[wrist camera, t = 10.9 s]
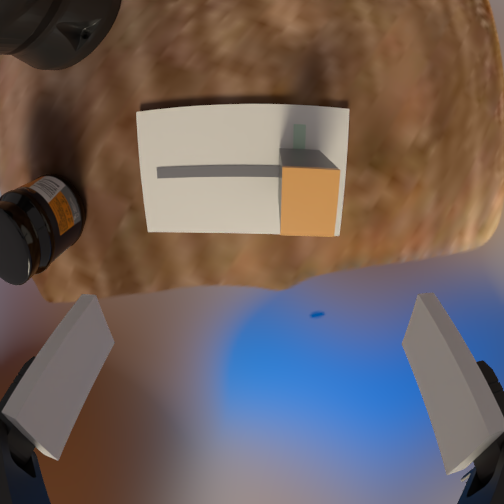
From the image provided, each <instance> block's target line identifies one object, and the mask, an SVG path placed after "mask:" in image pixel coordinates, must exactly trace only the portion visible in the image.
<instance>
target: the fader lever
mask: <svg viewBox="0 0 504 504" xmlns="http://www.w3.org/2000/svg"><path fill="white" fill-rule="evenodd" d="M339 182H340V169H339V168H338V167H337V166H335V165H334V164H333V163H332V162H331V161H330V160H329V159H328V158H327V157H326V156H325V155H324V154H323V153H322V152H321V151H320V150H309V149H285V148H279V179H278V203H279V220H280V235H291V236H324V237H334V233H335V224H336V215H337V205H338V194H339Z"/></svg>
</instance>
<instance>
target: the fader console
mask: <svg viewBox="0 0 504 504" xmlns="http://www.w3.org/2000/svg"><path fill="white" fill-rule="evenodd" d="M136 117H137V134H138V148H139V160H140V171H141V180H142V190H143V198H144V206H145V214H146V221H147V228H148V232H199V233H253V234H280V220H279V203H278V179H279V148H285V149H309V150H320V151H321V152H322V153H323V154H324V155H325V156H326V157H327V158H328V159H329V160H330V161H331V162H332V163H333V164H334V165H335V166H337V167H338V168H339V169H340V182H339V194H338V205H337V215H336V224H335V233H334V236H339V234H340V226H341V217H342V208H343V198H344V187H345V175H346V162H347V147H348V129H349V109H345V108H335V107H324V106H309V105H289V104H222V105H202V106H187V107H175V108H165V109H156V110H148V111H140V112H136Z"/></svg>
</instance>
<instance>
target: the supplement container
mask: <svg viewBox="0 0 504 504" xmlns="http://www.w3.org/2000/svg"><path fill="white" fill-rule="evenodd" d="M84 224H85V211H84V206H83V202H82V200H81V197H80V195H79V193H78V191H77V190H76V188H75V187H74V186H73V185H72V184H71V183H70V182H69V181H68V180H67V179H65V178H64V177H62V176H59V175H56V174H46V175H43V176H41V177H39V178H37V179H35V180H33V181H31V182H29V183H27V184H25V185H23V186H21V187H19V188H17V189H15V190H11V191H8V192H6V193H5V194H3V195H2V196H1V197H0V277H1V278H2V279H3V280H4V281H6V282H8V283H10V284H13V285H22V284H24V283H26V282H27V281H28V280H29V279H30V278H31V277H32V276H33V275H35V274H39V273H42V272H43V271H45V270H46V269H47V268H48V267H49V266H50V264H51V263H52V262H53V261H54V260H55V259H56V258H57V257H59V256H60V255H61V254H62V253H63V252H64V251H65V250H66V249H68V248H69V247H70V246H72V245H73V244H74V243H75V242H76V241H77V240H78V239H79V238H80V236H81V234H82V232H83V228H84Z"/></svg>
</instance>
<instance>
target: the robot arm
mask: <svg viewBox="0 0 504 504" xmlns="http://www.w3.org/2000/svg"><path fill="white" fill-rule="evenodd" d="M120 2H121V0H0V55H2V54H4V55H12V56H14V57H16V58H18V59H19V60H21V61H23V62H25V63H27V64H28V65H30V66H32V67H34V68H37V69H41V70H60V69H64V68H67V67H70V66H72V65H74V64H76V63H78V62H79V61H81V60H82V59H84V58H85V57H86V56H88V55H89V54H90V53H91V52H92V51H93V50H94V49H95V48H96V47H97V46H98V45H99V44H100V42H101V41H102V40H103V39H104V37H105V36H106V35H107V33H108V31H109V30H110V28H111V26H112V24H113V23H114V20H115V18H116V16H117V13H118V10H119V6H120ZM114 343H115V342H114V340H113V337H112V335H111V333H110V330H109V328H108V325H107V323H106V320H105V318H104V315H103V313H102V310H101V307H100V305H99V302H98V299H97V296H96V295H88V294H82V295H81V296H80V298H79V299H78V300H77V301H76V303H75V304H74V305H73V307H72V308H71V309H70V311H69V312H68V313H67V314H66V316H65V317H64V319H63V320H62V321H61V322H60V324H59V325H58V326H57V328H56V329H55V331H54V332H53V333H52V335H51V336H50V338H49V339H48V340H47V342H46V343H45V345H44V346H43V347H42V349H41V350H40V352H39V353H38V355H37V356H36V357H32V358H31V359H30V360H29V361H28V362H26V363H25V364H24V366H23V367H22V369H21V370H20V372H19V373H18V376H16V378H15V379H14V383H12V384H11V385H10V387H9V389H8V390H7V392H6V394H5V395H4V397H3V398H2V400H1V402H0V504H51V503H50V500H49V497H48V494H47V491H46V488H45V484H44V481H43V478H42V474H41V471H40V467H39V463H38V459H37V456H36V454H35V452H34V451H33V450H34V448H35V447H36V448H37V449H38V450H40V451H41V452H42V453H43V454H44V455H47V456H49V457H51V458H54V459H56V460H59V458H60V455H61V453H62V451H63V448H64V446H65V444H66V441H67V439H68V437H69V434H70V432H71V430H72V428H73V426H74V423H75V421H76V419H77V417H78V415H79V413H80V410H81V408H82V406H83V404H84V402H85V400H86V398H87V396H88V394H89V392H90V390H91V388H92V385H93V384H94V382H95V379H96V378H97V376H98V374H99V372H100V370H101V368H102V366H103V364H104V362H105V360H106V358H107V356H108V354H109V352H110V350H111V349H112V347H113V345H114ZM402 346H403V348H404V350H405V353H406V356H407V358H408V360H409V363H410V365H411V368H412V371H413V373H414V376H415V378H416V381H417V383H418V386H419V389H420V392H421V394H422V397H423V400H424V403H425V406H426V408H427V411H428V414H429V417H430V420H431V423H432V426H433V429H434V433H435V436H436V439H437V442H438V446H439V449H440V452H441V456H442V459H443V463H444V467H445V470H446V474H447V475H449V474H451V473H454V472H457V471H460V470H462V469H465V468H466V467H467V466H468V465H469V464H471V463H472V462H474V465H475V467H474V468H473V469H472V470H470V471H469V472H468V473H467V474H466V475H464V476H463V478H462V479H461V481H462V482H463V481H464V480H465V479H467V478H468V477H469V479H468V481H467V482H466V486H465V488H464V490H463V493H462V495H461V497H460V499H459V501H458V503H457V504H504V391H503V388H502V386H501V384H500V382H498V379H497V377H496V375H495V373H494V372H493V369H491V368H490V367H489V366H488V365H487V364H486V363H485V362H484V361H479V362H476V361H475V359H474V357H473V356H472V354H471V352H470V350H469V348H468V347H467V345H466V343H465V342H464V340H463V338H462V337H461V335H460V333H459V332H458V330H457V328H456V327H455V325H454V324H453V322H452V320H451V319H450V317H449V316H448V314H447V312H446V311H445V309H444V308H443V307H442V305H441V303H440V302H439V300H438V299H437V297H436V296H435V294H434V293H424V294H418V296H417V299H416V303H415V306H414V309H413V312H412V316H411V318H410V322H409V325H408V328H407V331H406V333H405V336H404V339H403V342H402Z"/></svg>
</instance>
